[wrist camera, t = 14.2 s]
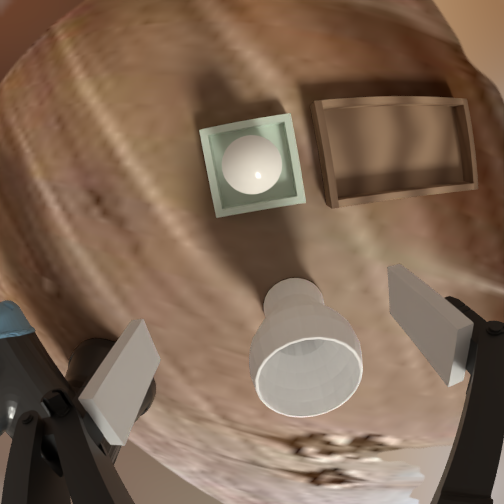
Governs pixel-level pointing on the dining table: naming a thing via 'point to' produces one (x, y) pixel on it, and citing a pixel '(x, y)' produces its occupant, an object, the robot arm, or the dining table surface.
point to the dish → (278, 195)
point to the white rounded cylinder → (251, 164)
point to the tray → (393, 147)
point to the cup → (303, 352)
